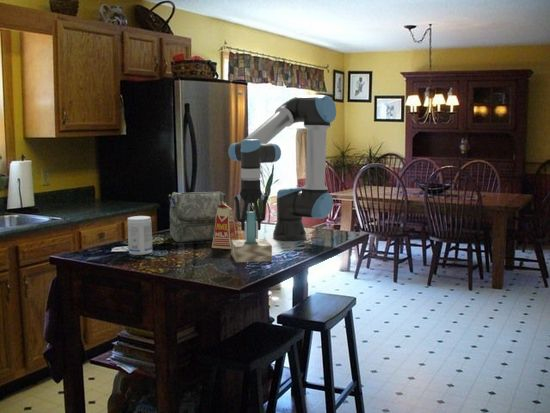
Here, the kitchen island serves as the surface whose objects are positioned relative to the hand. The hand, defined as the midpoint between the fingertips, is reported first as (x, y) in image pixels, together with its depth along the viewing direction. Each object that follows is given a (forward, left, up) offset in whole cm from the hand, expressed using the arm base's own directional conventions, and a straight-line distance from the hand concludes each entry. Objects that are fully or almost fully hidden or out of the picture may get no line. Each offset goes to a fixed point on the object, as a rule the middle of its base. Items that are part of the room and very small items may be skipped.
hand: (250, 238), depth 244 cm
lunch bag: (+18, -45, -8) cm, 49 cm away
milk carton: (+8, -25, -8) cm, 27 cm away
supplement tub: (+43, -18, -8) cm, 47 cm away
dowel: (0, 0, -5) cm, 5 cm away
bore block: (0, 0, -8) cm, 8 cm away
